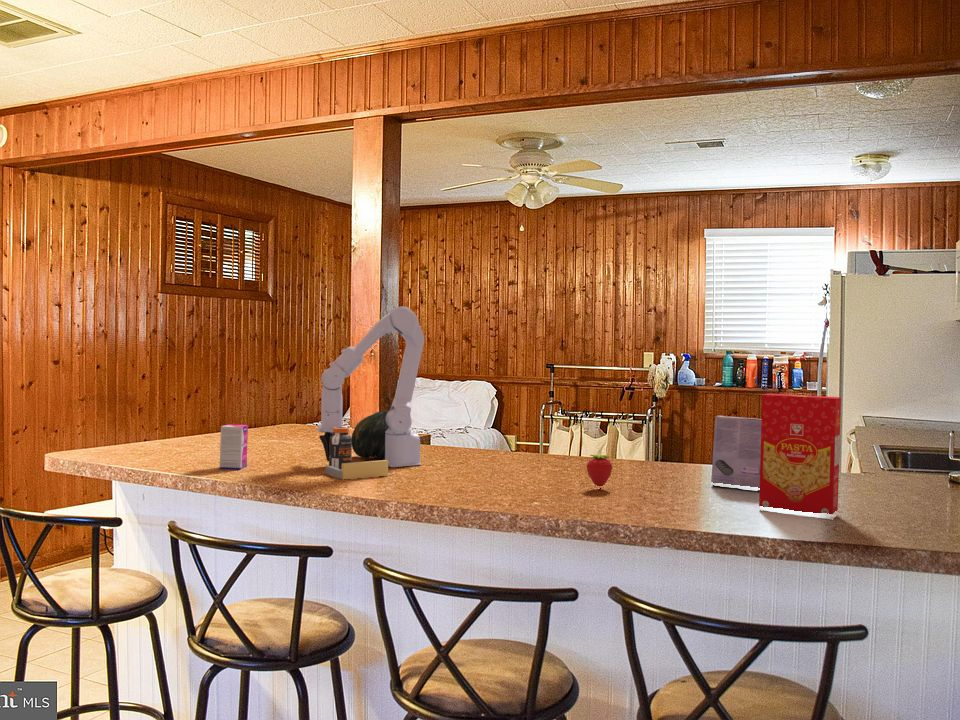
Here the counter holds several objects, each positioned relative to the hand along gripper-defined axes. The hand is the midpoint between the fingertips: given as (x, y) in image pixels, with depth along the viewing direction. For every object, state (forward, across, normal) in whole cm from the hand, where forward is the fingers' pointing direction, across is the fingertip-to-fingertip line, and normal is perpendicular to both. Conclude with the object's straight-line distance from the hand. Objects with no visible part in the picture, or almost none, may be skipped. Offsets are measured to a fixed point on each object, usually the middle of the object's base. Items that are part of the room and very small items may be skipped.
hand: (331, 461), depth 222 cm
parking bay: (+1, +16, 0) cm, 16 cm away
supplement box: (+2, -9, -24) cm, 26 cm away
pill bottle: (+2, +6, 0) cm, 6 cm away
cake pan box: (+2, +81, +75) cm, 110 cm away
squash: (+2, -7, +18) cm, 19 cm away
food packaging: (+2, +103, +61) cm, 120 cm away
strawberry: (+2, +62, +42) cm, 75 cm away
